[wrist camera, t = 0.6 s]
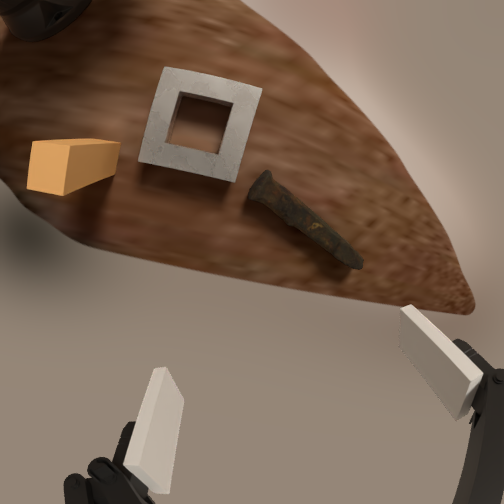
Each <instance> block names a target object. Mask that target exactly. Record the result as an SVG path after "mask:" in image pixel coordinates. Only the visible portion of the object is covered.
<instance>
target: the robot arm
mask: <svg viewBox="0 0 504 504" xmlns="http://www.w3.org/2000/svg"><path fill="white" fill-rule="evenodd" d="M90 2H91V0H0V16H1V17H2V19H3V21H4V22H5V24H6V25H7V27H8V28H9V30H10V32H11V33H12V34H13V35H14V36H15V37H17V38H19V39H22V40H24V41H28V42H35V41H40V40H43V39H46V38H48V37H50V36H52V35H54V34H56V33H58V32H59V31H61V30H62V29H64V28H65V27H66V26H68V25H69V24H70V23H71V22H73V21H74V20H75V19H76V18H77V17H78V16H79V15H80V14H81V13H82V12H83V11H84V9H85V8H86V7H87V6H88V5H89V3H90ZM399 348H400V349H401V350H402V351H403V352H404V354H405V355H406V356H407V358H408V359H409V360H410V361H411V363H412V364H413V365H414V367H415V368H416V369H417V370H418V372H419V373H420V374H421V375H422V377H423V378H424V379H425V381H426V382H427V383H428V385H429V386H430V387H431V388H432V390H433V391H434V392H435V394H436V395H437V396H438V398H439V399H440V400H441V402H442V403H443V404H444V406H445V407H446V409H447V410H448V411H449V413H450V414H451V415H452V417H453V418H454V419H455V421H457V420H459V419H460V418H462V417H463V416H465V415H467V414H468V412H469V410H470V408H471V406H472V407H473V408H474V410H475V411H474V413H473V415H472V418H471V420H470V422H469V424H471V423H472V427H471V433H470V438H469V444H468V449H467V454H466V458H465V463H464V467H463V471H462V474H461V478H460V481H459V485H458V488H457V491H456V495H455V498H454V500H453V503H452V504H500V503H501V500H502V495H503V491H504V369H494V368H493V367H492V366H491V365H490V364H489V363H488V362H487V361H485V360H484V358H483V357H481V356H480V355H479V354H477V352H476V351H475V350H474V349H472V347H471V346H470V345H469V344H467V343H466V342H465V341H462V340H460V339H456V340H454V341H450V340H449V339H448V338H447V337H446V336H445V335H444V334H443V333H442V332H441V331H440V330H439V329H438V328H437V327H436V326H434V325H433V324H432V323H431V322H430V321H429V320H428V319H427V318H426V317H425V316H424V315H422V314H421V313H420V312H419V311H418V310H417V309H416V308H415V307H414V306H412V305H408V306H405V307H403V308H400V331H399ZM183 406H184V399H183V397H182V395H181V393H180V391H179V390H178V388H177V386H176V384H175V382H174V380H173V378H172V377H171V375H170V373H169V371H168V369H167V367H161V368H154V371H153V374H152V376H151V379H150V382H149V385H148V388H147V391H146V394H145V397H144V399H143V402H142V406H141V408H140V411H139V415H138V418H137V421H136V422H128V424H127V425H126V426H125V427H124V428H123V431H122V434H121V438H120V440H119V442H118V443H119V445H117V448H116V452H115V454H114V458H113V461H112V462H111V461H110V460H109V459H108V458H105V457H99V458H96V459H94V460H93V461H91V463H90V464H89V465H88V469H87V472H88V474H89V476H91V477H92V478H87V479H85V478H84V477H83V476H82V475H80V474H76V473H74V474H71V475H69V476H68V477H67V478H66V479H65V481H64V497H65V504H155V502H154V501H153V500H152V498H151V497H150V496H148V494H147V493H148V488H149V489H150V490H151V491H152V492H154V493H159V494H169V492H170V485H171V478H172V472H173V465H174V459H175V452H176V447H177V441H178V435H179V429H180V423H181V417H182V411H183Z"/></svg>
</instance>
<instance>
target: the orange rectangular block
mask: <svg viewBox="0 0 504 504" xmlns="http://www.w3.org/2000/svg"><path fill="white" fill-rule="evenodd" d="M120 146H121V143H119V142H113V141H106V140H99V139H62V140H44V141H33V143H32V149H31V156H30V163H29V172H28V181H27V189H30V190H35V191H41V192H46V193H51V194H56V195H61V196H64V195H66V194H68V193H71V192H73V191H75V190H77V189H80V188H82V187H85V186H87V185H89V184H92V183H94V182H97V181H99V180H102V179H104V178H107V177H110V176H112V175H115V171H116V166H117V161H118V156H119V151H120Z"/></svg>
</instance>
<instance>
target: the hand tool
mask: <svg viewBox="0 0 504 504" xmlns="http://www.w3.org/2000/svg"><path fill="white" fill-rule="evenodd" d="M248 198H249V199H250V200H253V201H258V202H260V203H263V204H265V205H266V206H267V207H269V208H270V209H271V210H272V211H273V212H274V213H275V214H277V215H278V216H279V217H280V218H281V219H283V220H284V221H285V223H286V224H287V225H289V226H293V227H296V228H298V229H299V230H300V231H302V232H303V233H304V234H306V235H307V236H308V237H310V238H311V239H312V240H314V241H315V242H316V243H318V244H319V245H321V246H322V247H323V248H324V249H325V250H326V251H328V252H330V253H331V254H332V255H333V256H334V257H335V258H336V259H338V260H339V261H341V262H342V263H343V264H345V265H347V266H349V267H351V268H353V269H358V270H360V269H362V267H363V261H364V260H363V258H362V257H361V256H360V255H359V253H358V252H357V251H355V250H354V249H353V248H352V246H351V245H350V244H349V243H348V242H347V241H346V240H345V239H343V238H342V237H341V236H340V235H339V234H338V233H337V232H336V231H334V230H333V229H332V228H331V227H330V226H329V225H328V224H327V223H326V222H324V221H323V220H322V219H321V218H320V217H319V216H318V215H317V214H315V213H314V212H313V211H312V210H311V209H310V208H308V207H307V206H306V205H305V204H304V203H303V202H301V201H300V200H299V199H298V198H297V197H295V196H294V195H293V194H292V193H291V192H290V191H288V190H287V189H286V188H285V187H284V186H282V185H280V184H279V183H278V182H276V181H275V180H274V179H273V178H272V174H271V172H270V171H268V170H265V171H264V172H263V173H262V174H261V175H260V177H259V178H258V179H257V180H256V181H255V182H254V184H253V185H252V187H251V188H250V191H249V193H248Z"/></svg>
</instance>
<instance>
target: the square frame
mask: <svg viewBox="0 0 504 504" xmlns="http://www.w3.org/2000/svg"><path fill="white" fill-rule="evenodd" d="M261 92H262V88H258V87H255V86H251V85H248V84H244V83H240V82H237V81H233V80H229V79H225V78H221V77H216V76H212V75H208V74H203V73H198V72H193V71H188V70H182V69H177V68H171V67H164V69H163V72H162V75H161V78H160V81H159V84H158V87H157V91H156V94H155V97H154V100H153V104H152V107H151V111H150V114H149V118H148V122H147V126H146V129H145V133H144V137H143V141H142V146H141V150H140V154H139V159H138V162H144V163H149V164H154V165H159V166H164V167H169V168H173V169H178V170H183V171H187V172H192V173H196V174H201V175H205V176H209V177H214V178H218V179H222V180H226V181H230V182H234V183H235V181H236V177H237V173H238V170H239V166H240V163H241V159H242V156H243V152H244V149H245V145H246V142H247V138H248V135H249V132H250V128H251V125H252V122H253V118H254V115H255V112H256V108H257V105H258V102H259V99H260V95H261ZM182 96H185V97H190V98H195V99H200V100H204V101H209V102H213V103H217V104H221V105H225V106H229V107H231V110H230V113H229V117H228V120H227V123H226V127H225V130H224V134H223V137H222V141H221V144H220V148H219V151H218V154H215V153H211V152H207V151H203V150H198V149H194V148H189V147H185V146H180V145H175V144H170V143H169V142H170V138H171V134H172V131H173V127H174V123H175V120H176V116H177V113H178V109H179V106H180V103H181V99H182Z"/></svg>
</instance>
